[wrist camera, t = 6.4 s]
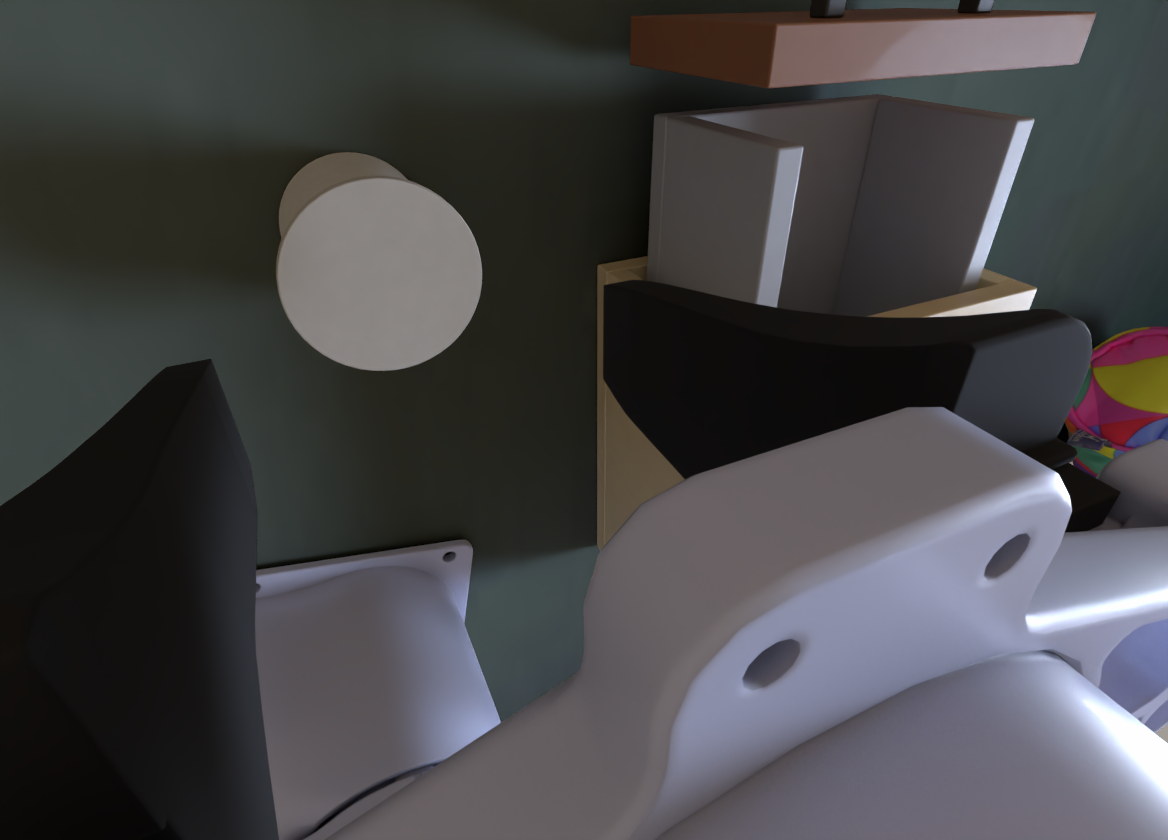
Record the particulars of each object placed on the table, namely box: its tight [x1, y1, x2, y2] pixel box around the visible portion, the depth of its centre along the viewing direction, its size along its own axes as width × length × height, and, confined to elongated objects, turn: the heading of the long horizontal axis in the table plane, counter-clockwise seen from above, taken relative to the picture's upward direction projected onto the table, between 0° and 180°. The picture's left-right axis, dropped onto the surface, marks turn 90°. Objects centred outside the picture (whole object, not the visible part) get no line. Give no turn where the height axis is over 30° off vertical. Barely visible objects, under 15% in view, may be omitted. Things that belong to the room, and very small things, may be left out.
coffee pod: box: [276, 152, 482, 371], centre depth 17 cm, size 5×5×5 cm
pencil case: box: [1065, 327, 1168, 478], centre depth 43 cm, size 22×9×9 cm, turn 41°
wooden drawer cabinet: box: [597, 256, 1037, 551], centre depth 25 cm, size 14×12×8 cm
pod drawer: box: [630, 0, 1096, 317], centre depth 19 cm, size 17×10×6 cm, turn 179°
